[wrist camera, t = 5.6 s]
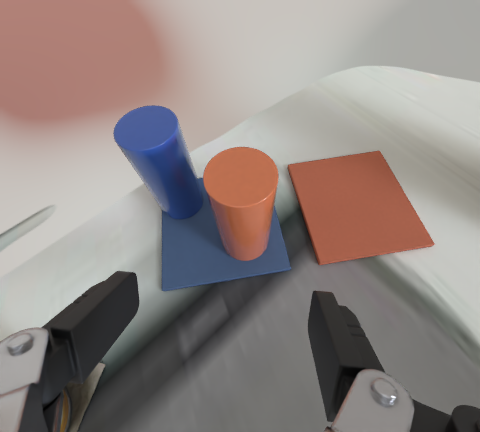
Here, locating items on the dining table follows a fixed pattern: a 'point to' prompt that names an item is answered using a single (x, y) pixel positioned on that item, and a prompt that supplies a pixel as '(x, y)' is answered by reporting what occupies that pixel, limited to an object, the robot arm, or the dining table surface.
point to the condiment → (78, 400)
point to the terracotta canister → (242, 199)
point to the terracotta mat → (355, 208)
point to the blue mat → (211, 251)
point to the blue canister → (161, 159)
